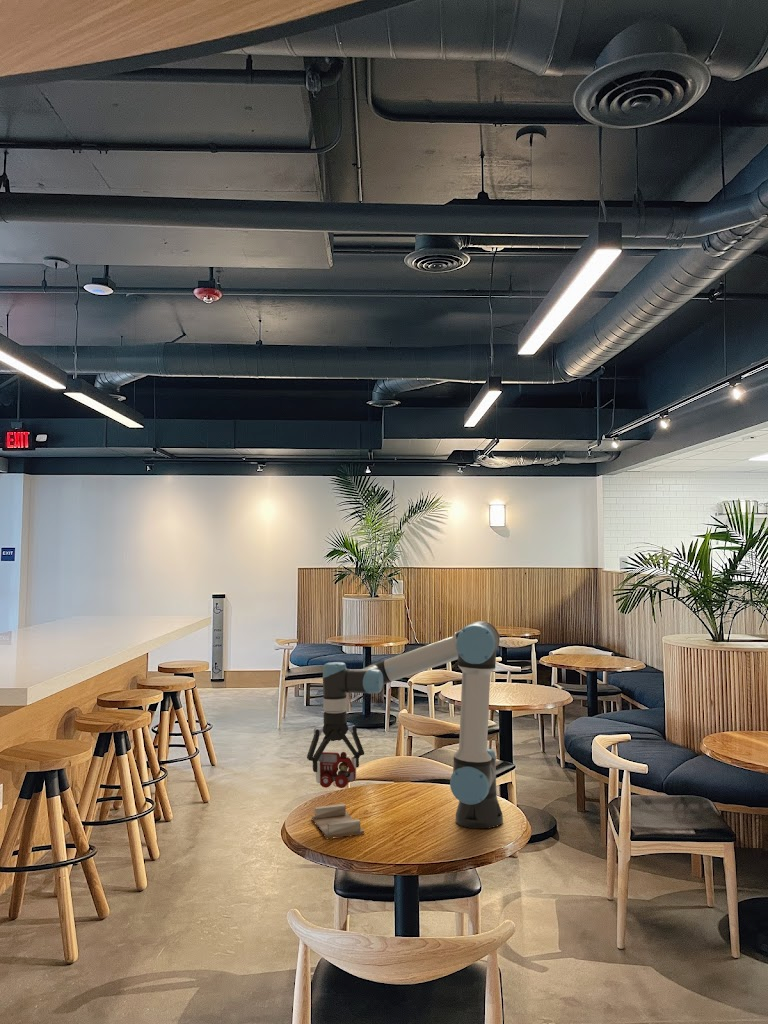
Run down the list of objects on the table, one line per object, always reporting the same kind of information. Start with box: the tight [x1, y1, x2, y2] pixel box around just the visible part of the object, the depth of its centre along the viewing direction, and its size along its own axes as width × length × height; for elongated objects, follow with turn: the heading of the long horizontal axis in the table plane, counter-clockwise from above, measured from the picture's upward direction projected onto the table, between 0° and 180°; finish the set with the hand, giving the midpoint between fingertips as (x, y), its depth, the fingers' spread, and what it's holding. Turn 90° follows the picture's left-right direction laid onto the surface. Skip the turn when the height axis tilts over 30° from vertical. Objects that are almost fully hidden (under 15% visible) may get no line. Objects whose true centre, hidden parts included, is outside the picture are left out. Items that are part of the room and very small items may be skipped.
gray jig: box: [311, 803, 365, 839], centre depth 245 cm, size 20×12×4 cm, turn 19°
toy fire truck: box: [318, 751, 356, 789], centre depth 247 cm, size 7×12×10 cm, turn 80°
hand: (336, 780), depth 246 cm, fingers closed on toy fire truck, 11 cm apart
